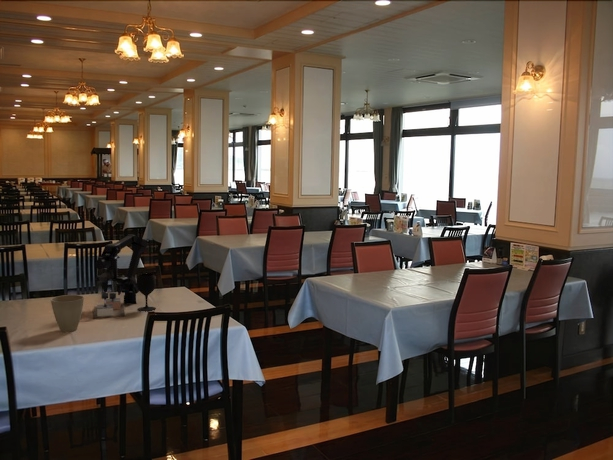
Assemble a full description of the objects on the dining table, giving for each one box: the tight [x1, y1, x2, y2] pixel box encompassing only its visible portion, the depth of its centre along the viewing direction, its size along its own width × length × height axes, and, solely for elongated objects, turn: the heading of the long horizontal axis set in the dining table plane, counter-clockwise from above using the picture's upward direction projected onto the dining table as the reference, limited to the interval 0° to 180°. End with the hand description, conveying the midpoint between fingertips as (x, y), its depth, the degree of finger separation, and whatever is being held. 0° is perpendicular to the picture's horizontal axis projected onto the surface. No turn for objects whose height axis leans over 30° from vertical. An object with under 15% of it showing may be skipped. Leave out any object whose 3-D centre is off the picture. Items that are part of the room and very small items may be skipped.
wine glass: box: [136, 272, 157, 313], centre depth 316 cm, size 10×10×20 cm
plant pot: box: [50, 294, 85, 333], centre depth 273 cm, size 15×15×16 cm
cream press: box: [96, 304, 113, 317], centre depth 302 cm, size 8×8×4 cm
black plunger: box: [100, 291, 109, 307], centre depth 302 cm, size 4×4×8 cm
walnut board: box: [92, 304, 126, 320], centre depth 310 cm, size 16×26×1 cm, turn 20°
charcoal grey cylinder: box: [108, 292, 117, 301], centre depth 317 cm, size 4×4×8 cm
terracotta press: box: [106, 297, 121, 309], centre depth 317 cm, size 8×8×4 cm
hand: (112, 294), depth 316 cm, fingers open, 9 cm apart
